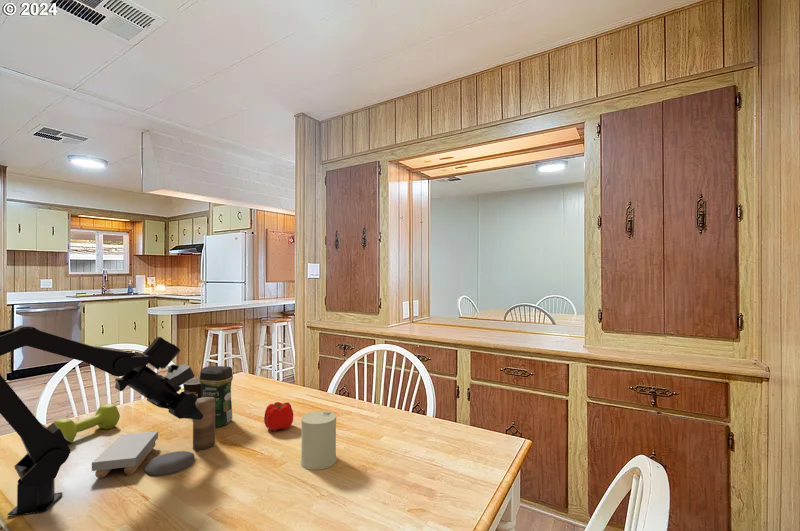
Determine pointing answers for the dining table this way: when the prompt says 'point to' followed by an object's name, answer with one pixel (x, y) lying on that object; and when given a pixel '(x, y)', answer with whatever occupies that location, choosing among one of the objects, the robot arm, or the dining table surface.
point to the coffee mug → (193, 386)
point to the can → (318, 440)
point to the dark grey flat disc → (169, 463)
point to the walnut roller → (204, 425)
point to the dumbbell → (90, 421)
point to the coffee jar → (218, 391)
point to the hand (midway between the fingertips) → (194, 413)
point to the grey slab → (125, 453)
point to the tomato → (278, 416)
